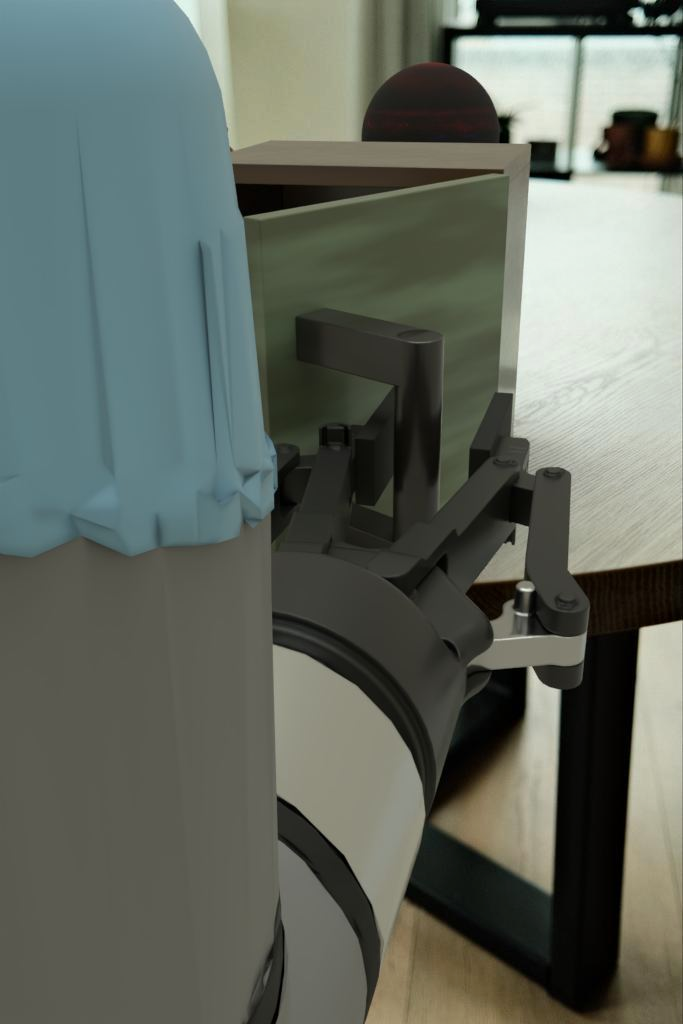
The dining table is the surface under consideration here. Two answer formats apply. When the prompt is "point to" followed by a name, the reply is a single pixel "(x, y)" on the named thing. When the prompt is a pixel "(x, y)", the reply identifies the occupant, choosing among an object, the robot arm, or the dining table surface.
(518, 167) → the cupboard
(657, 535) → the dining table surface
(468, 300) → the door
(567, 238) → the dining table surface
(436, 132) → the decorative orb
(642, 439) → the dining table surface
